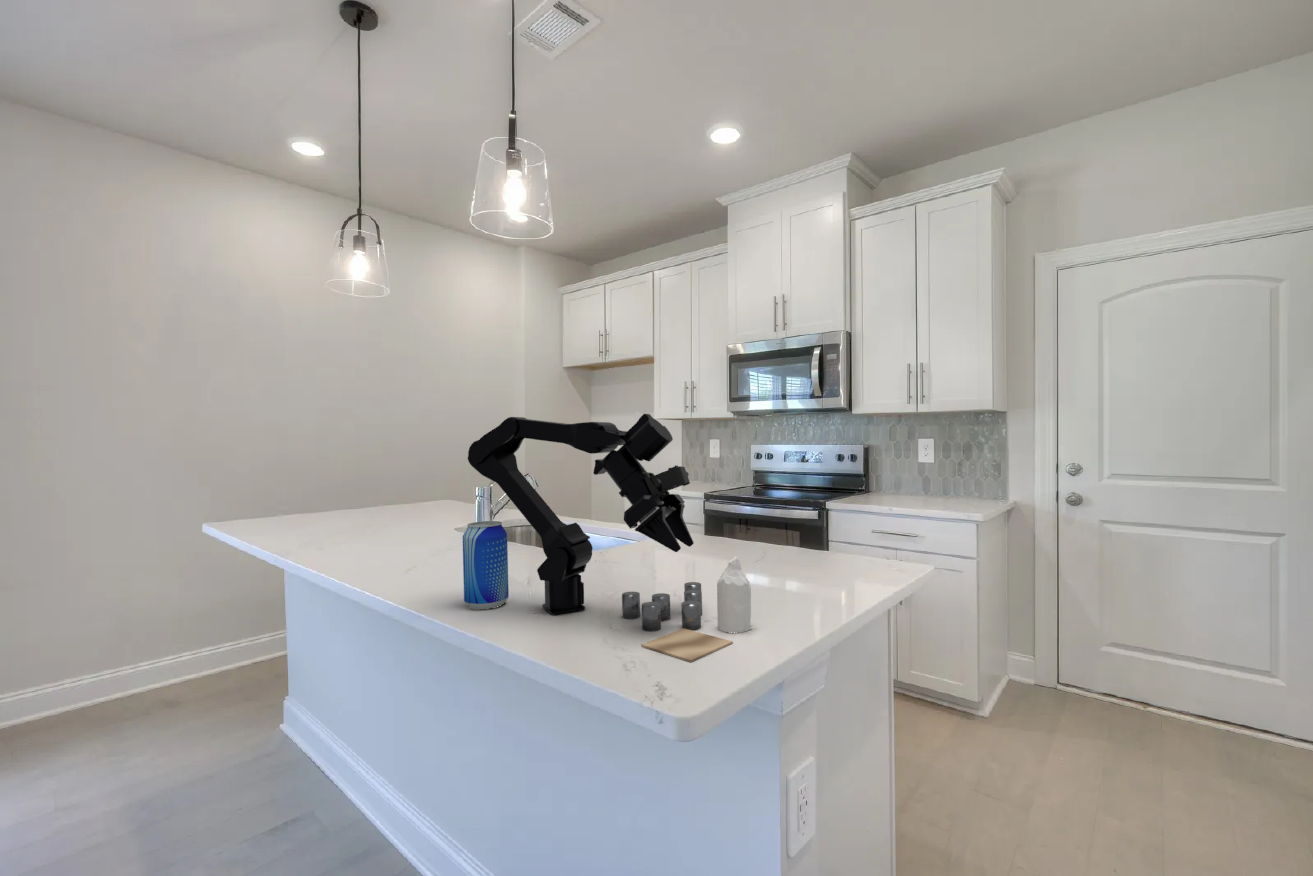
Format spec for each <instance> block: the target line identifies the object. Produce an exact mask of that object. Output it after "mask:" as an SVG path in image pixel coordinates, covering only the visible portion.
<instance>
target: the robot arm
mask: <svg viewBox="0 0 1313 876" xmlns="http://www.w3.org/2000/svg"><path fill="white" fill-rule="evenodd" d="M524 439H529V440H536V441H544V442H552V443H557V444H558V443H561V444H565V445H568V446H570V447H572V448H573V449H576V450H579V451H582V452H585V453H588V454H592V455H593V454H604V453H605V454H606V453H607V455H605V457H603V458H602V459H601V458H600V459H599V458H598V459H595V460H594V467H593V475H595V476H596V475H597V476H598V475H603V474H606V473H607V475H609V477H610V479H612V481H613V482H614V484H615V485H616V486H617V487H618V489H619V490H620V491H618V494H619V495H620V497H621V498H626V500H628V502H629V503H630V505H631V506H630V507H629V508H627V509H626V510H625V511H623V521H624V523H625V524H626V525H627V526H628V528H629V529H634V530H635V532H638V533H640V534H642V535H644V536H646V537H648V538H650V539H652V540H653V541H655V542H656V543H658V544H661V545H662V546H664V547H666V548H668V549H670V550H671V551H673V552H674V553H678V552H679V551H681V550H682V549H681V548H682V547H681V545H680V543H679V542H681V543H683V545H685V546H687V547H690V548H691V547H692V545H694V540H693V537H692V536H691V533H690V531H689V528H688V527H687V524H686V523H685V520H684V517H683V514H684V509H685V507H686V506H685V501H684V499H683V498H682V496H681V495H680V494H678V493H677V494H676V493H670V491H671V490H673V489H677V488H679V487H682V486H683V487H685V486H688V485H690V484H691V482H690V478H689V475H690V474H689V472H688V471H687V470H686V467H685V466H681V465H680V466H679V465H674V466H672V467H668V468H667V470H665V471H662V472H660V473H657V474H654V473H653V472H647V470H646V469H645V467H644V466H643V465H642V464H641V463H640V462H642V461H646V462H651V461H652V460H653V459H654V458H655V457H657V455H659V454H660V453H661V451H663V450H664V449H665V448H666V447H667V446H668V445H669V444H670V443H672V441H673V436H672V434H671V432H670V431H669V429H668V428H667V427H666V425H663V424H662V423H661V422H659V420H657V419H655V418H654V417H653V416H652V415H651V414H649V413H643V414H642V415H641V416H640V417H639V418H638V420H637V421H636V422H635V423H634V424H633V426H631V427H630V428H629V429H628V430H627V431H626V430H619V428H618V427H617V426H616V424H614V423H612V422H609V421H608V422H607V421H605V422H604V421H603V422H602V421H589V422H587V421H585V422H577V423H564V422H555V421H547V420H540V419H539V420H538V419H530V418H526V417H523V416H522V417H521V416H509V417H507V418H505V419H504V420H503V421H502V422H501V423H500V424H499V425H497V426H496V427H495V428H493V429H491V430H490V431H488V432H486V433H485V434H483V436H481V437H480V438H479V439H478V440H475V441H473V442H472V443H471V444H470V445H469V448H468V452H467V454H468V455H467V461H468V463H469V465H470V466H471V467H472V468H473V469H474V470H476V471H477V472H478V474H480V475H481V476H483V477H485V478H487V479H488V480H490V481H493V482H494V483H496V484H497V485H498V486H499V487H500V489H501V490H502V491H503V493H504V494H505V495H506V496H507V497H508V498H509V500H510V501H511V503H513V505H514V506H515V507H516V508H517V510H518V511H519V512H520V514H521V515H522V516H523V517H524V518H525V520H526V521H527V522H528V523H529V525H530V526H531V527H532V528H533V530H534V531H535V532H536V533H537V534H538V536H539V537H540V540H541V544H542V549H543V550H542V551H543V553H544V555H545V556H546V558H545V560H544V561H543V562H542V563H541V564H540V565H539V567H537V569H536V572H537V576H538V578H539V580H540V581H544V603H543V604H542V605H541V606H542V608H543V609H544V610H545V611H547V612H548V613H549V614H551V616H552V615H553V616H554V615H560V614H567V613H573V612H578V611H583V610H586V606H584V604H585V585H584V582H583V581H582V575H581V573H584V572H585V571H586V567H587V565H588V563H590V561H591V559H592V556H593V544H592V542H591V541H590V540H589V539H590V538H591V537H590V536H589V535H587V534H586V533H585V532H584V531H583V529H582V527H581V525H580V524H579V523H577V522H572V523H569V524H566V523H564V522H563V521H562V520H561V519H560V518H559V517H558V515H557V514H556V513H555V512H554V511H553V510H552V509H551V507H550V506H549V505H548V503H547V502H545V500H544V499H543V498H542V496H541V495H540V493H538V492H537V491H536V489H535V488H534V487H533V486H532V484H531V483H530V481H529V480H527V478H526V476H524V474H522V472H521V471H520V470H519V469H518V468H519V467H518V462H517V458H516V457H517V456H516V455H515V453H516V452H517V451H518V450H519V449H520V447H521V445H522V443H523V442H524ZM619 446H621V447H620V448H618V447H619ZM617 448H618V449H617ZM616 449H617V450H616ZM638 523H639V525H638ZM678 541H679V542H678Z"/></svg>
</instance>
